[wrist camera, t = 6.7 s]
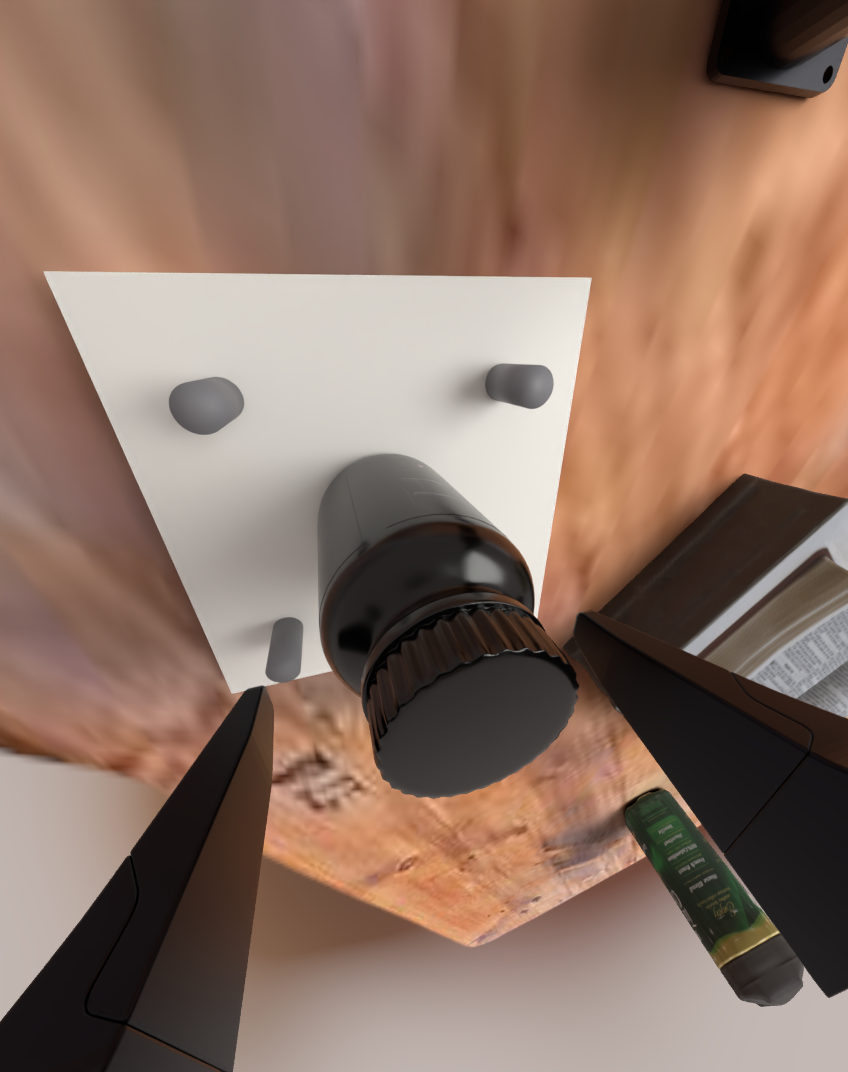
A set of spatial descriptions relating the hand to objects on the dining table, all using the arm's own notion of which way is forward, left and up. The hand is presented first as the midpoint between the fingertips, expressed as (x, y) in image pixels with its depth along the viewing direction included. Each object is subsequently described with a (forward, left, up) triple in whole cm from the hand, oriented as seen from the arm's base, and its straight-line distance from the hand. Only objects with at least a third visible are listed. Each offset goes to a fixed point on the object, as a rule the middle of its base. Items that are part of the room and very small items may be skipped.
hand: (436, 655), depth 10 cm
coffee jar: (-35, +54, -11) cm, 65 cm away
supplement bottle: (0, 0, -10) cm, 10 cm away
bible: (-29, +16, -12) cm, 35 cm away
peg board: (0, 0, -11) cm, 11 cm away
